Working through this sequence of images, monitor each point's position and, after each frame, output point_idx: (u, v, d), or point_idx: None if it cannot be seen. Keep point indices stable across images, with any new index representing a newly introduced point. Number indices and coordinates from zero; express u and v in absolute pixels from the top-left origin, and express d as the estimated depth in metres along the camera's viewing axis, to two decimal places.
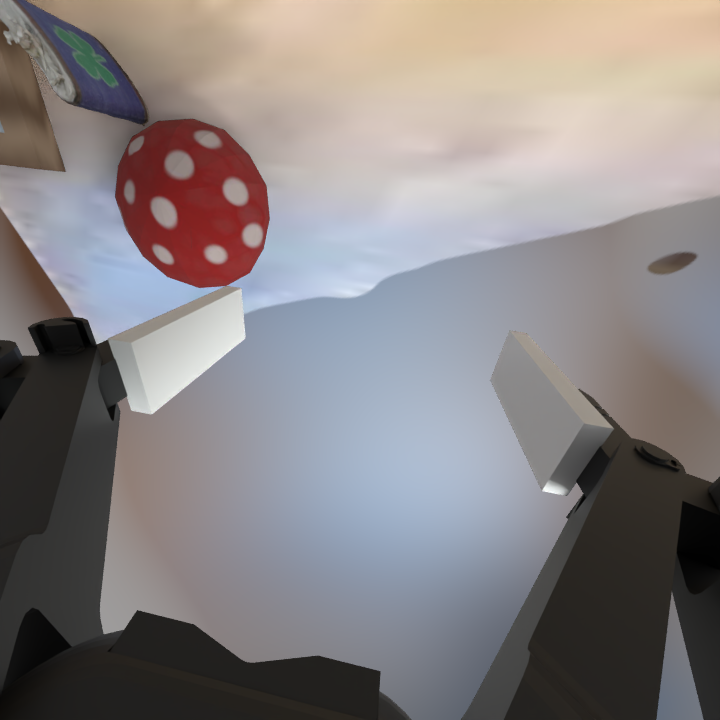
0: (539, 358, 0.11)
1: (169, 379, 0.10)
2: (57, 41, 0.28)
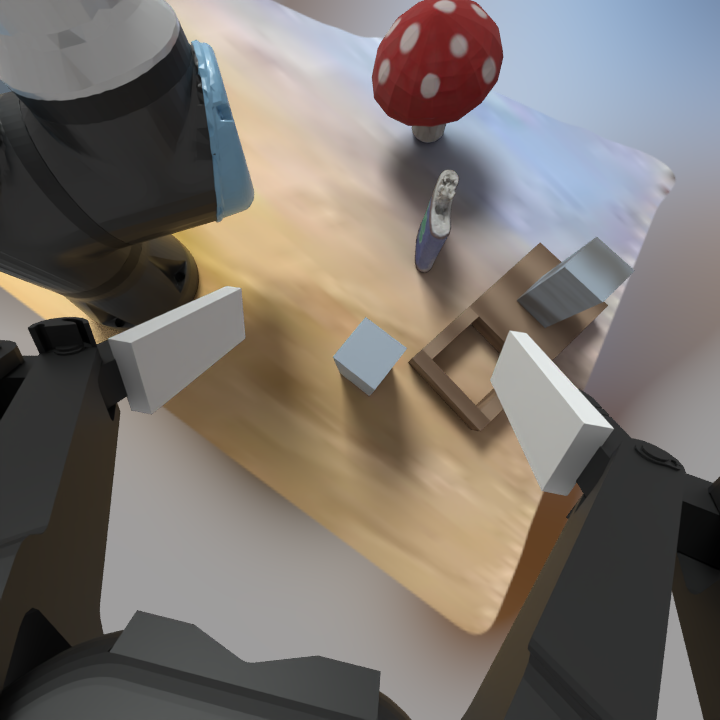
0: (539, 358, 0.11)
1: (169, 379, 0.10)
2: (429, 207, 0.35)
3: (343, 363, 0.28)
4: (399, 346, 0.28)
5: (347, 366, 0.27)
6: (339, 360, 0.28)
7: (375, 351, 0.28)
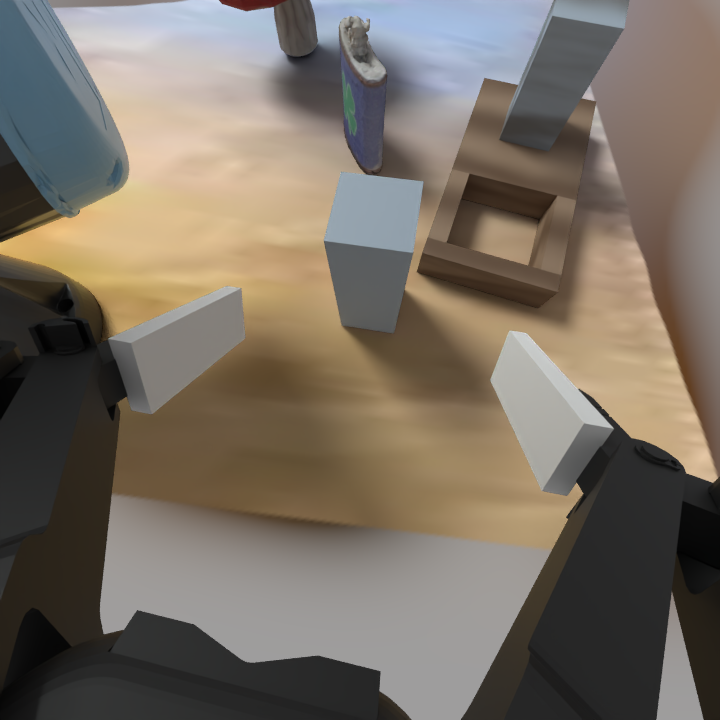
0: (539, 358, 0.11)
1: (169, 379, 0.10)
2: (345, 69, 0.27)
3: (344, 241, 0.16)
4: (411, 183, 0.17)
5: (353, 242, 0.16)
6: (336, 240, 0.16)
7: (382, 205, 0.17)
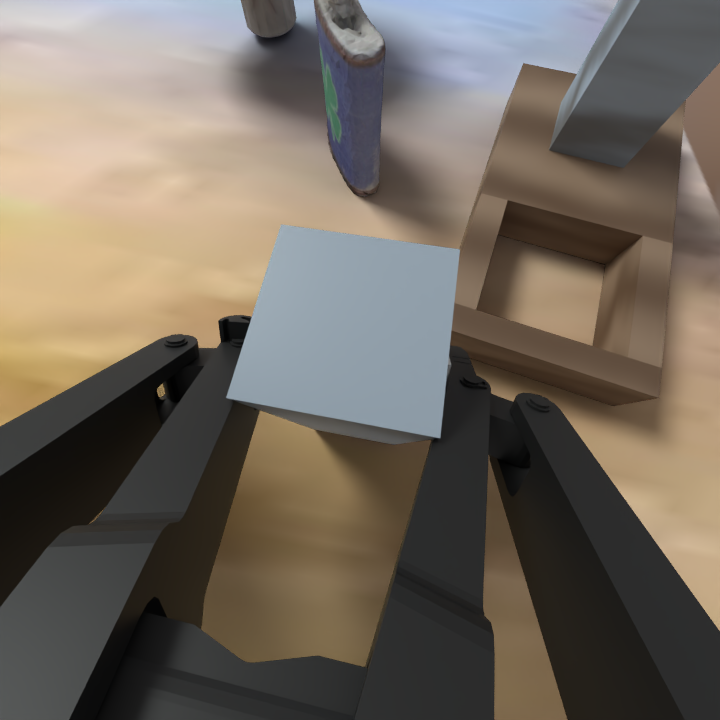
0: None
1: None
2: (322, 42, 0.18)
3: (275, 401, 0.07)
4: (431, 254, 0.08)
5: (295, 404, 0.07)
6: (256, 398, 0.07)
7: (367, 305, 0.07)
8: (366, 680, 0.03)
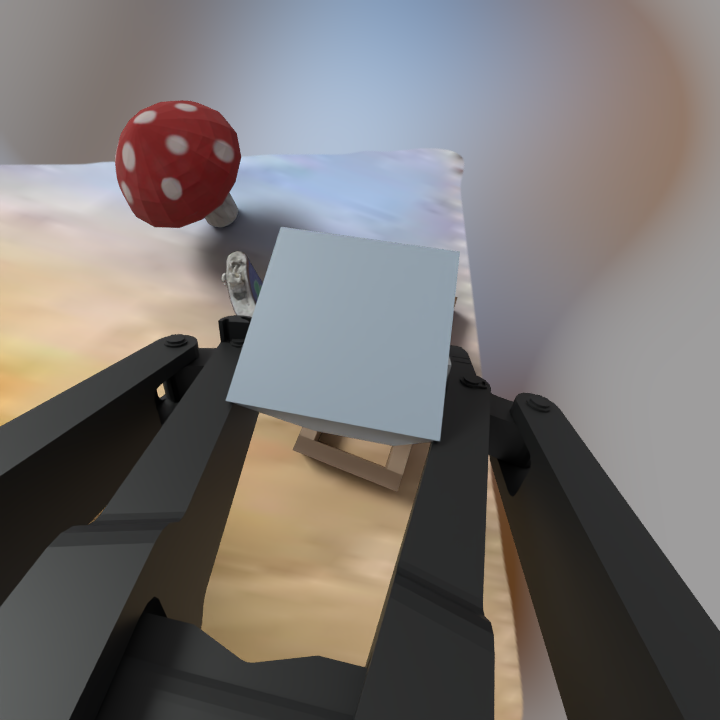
0: None
1: None
2: None
3: (275, 404, 0.07)
4: (432, 257, 0.08)
5: (294, 407, 0.07)
6: (255, 401, 0.07)
7: (367, 308, 0.07)
8: (366, 680, 0.03)
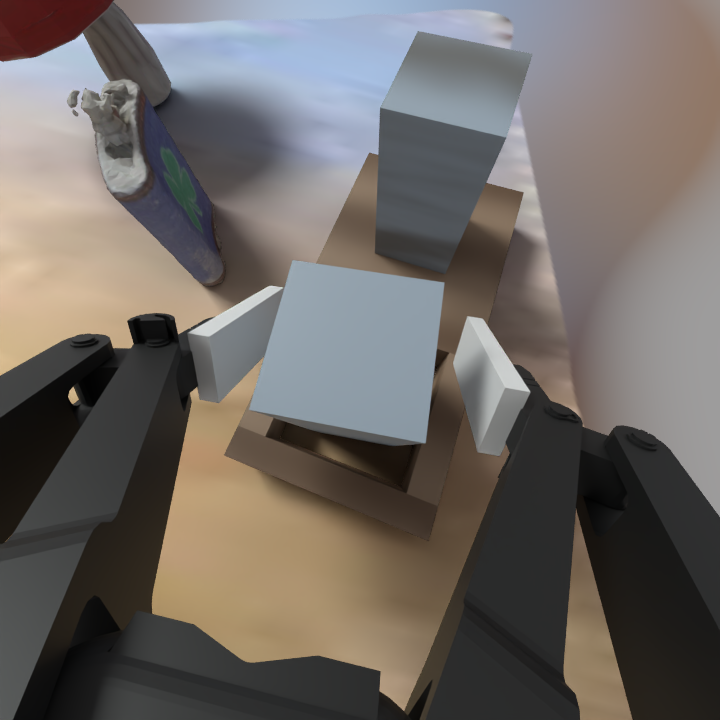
0: (486, 338, 0.12)
1: (231, 371, 0.11)
2: None
3: (290, 412, 0.08)
4: (420, 287, 0.09)
5: (306, 415, 0.08)
6: (273, 410, 0.08)
7: (366, 331, 0.09)
8: (429, 710, 0.03)
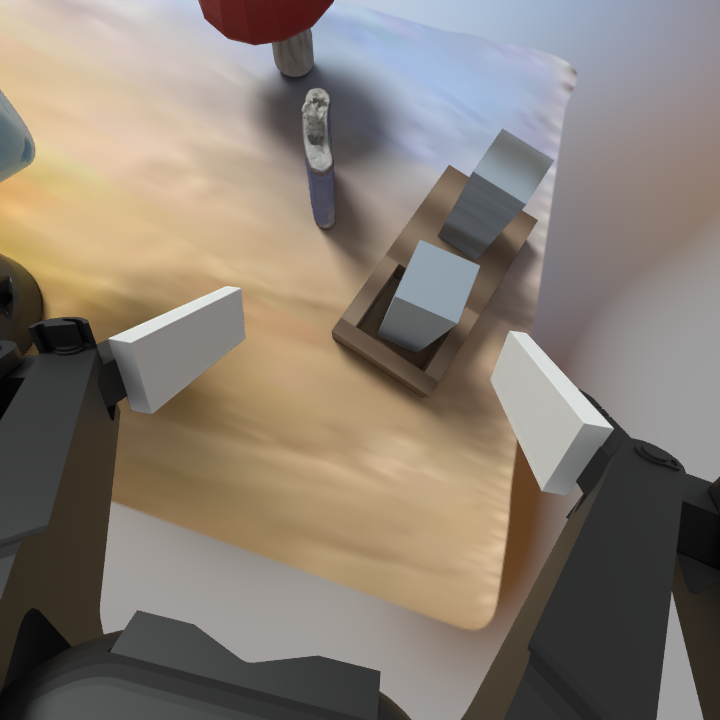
0: (539, 358, 0.11)
1: (169, 379, 0.10)
2: None
3: (410, 301, 0.21)
4: (470, 265, 0.22)
5: (416, 303, 0.21)
6: (404, 298, 0.21)
7: (444, 277, 0.22)
8: None
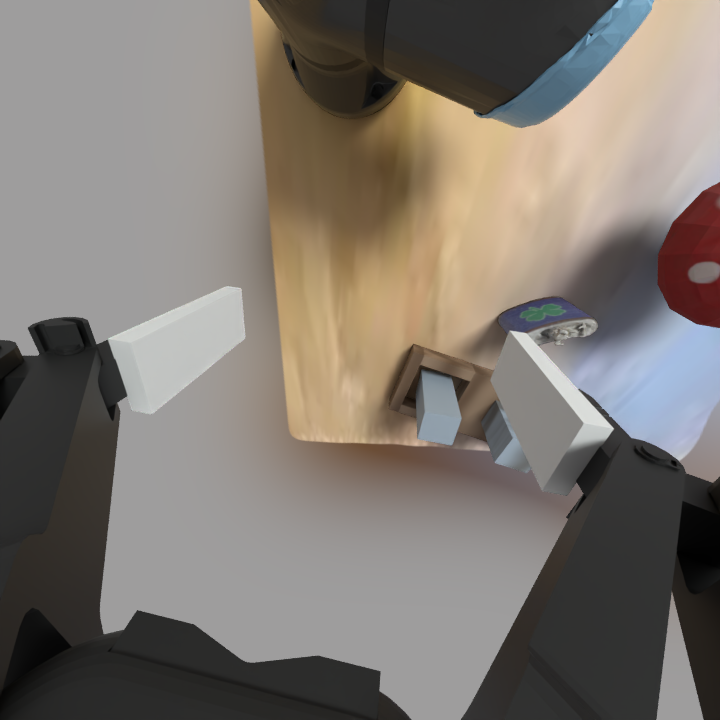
0: (539, 358, 0.11)
1: (169, 379, 0.10)
2: (550, 319, 0.36)
3: (424, 418, 0.41)
4: (451, 441, 0.42)
5: (423, 421, 0.41)
6: (424, 416, 0.40)
7: (441, 431, 0.41)
8: None
